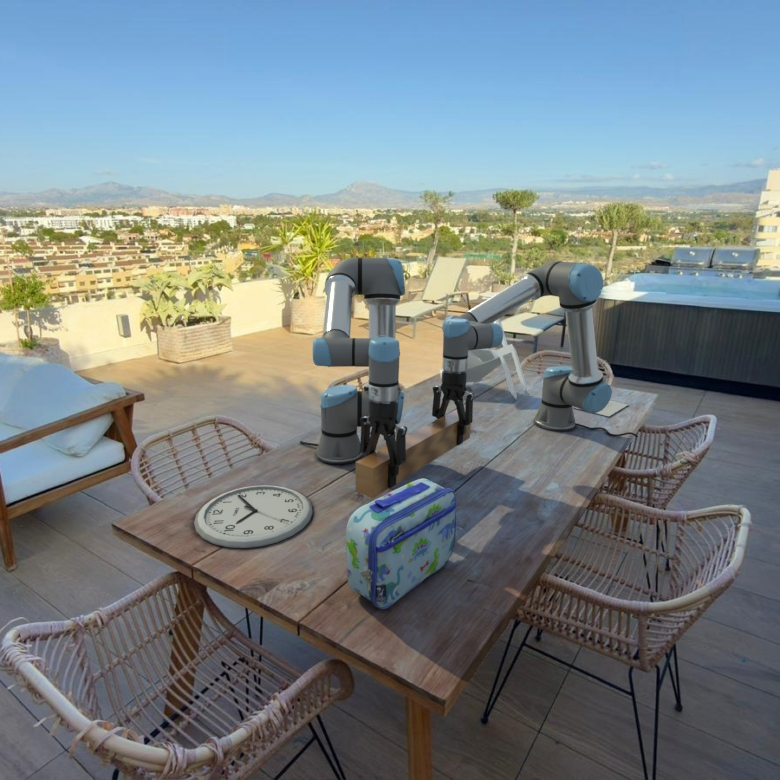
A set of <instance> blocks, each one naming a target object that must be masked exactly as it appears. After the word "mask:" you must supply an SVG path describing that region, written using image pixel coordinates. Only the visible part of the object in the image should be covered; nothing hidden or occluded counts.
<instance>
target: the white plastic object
mask: <svg viewBox="0 0 780 780" xmlns="http://www.w3.org/2000/svg"><path fill="white" fill-rule="evenodd" d="M495 323H496V324H498V325H499V326H500V327H501V328H502V331H503V341H502V343H501V345H502V347H500V348H498V349H496V350H495V349H493V348H490V349H489V348H487V349H477V350H468V361H467V370H466V372H467V379H466V384H467V383H468V384H469V383H473V384H477V383H480V382H482V381H484V378H485V377H486V376H487V375H489V374H490V373H492V372H494V371H495V370H496V369H497V368H499V367H500V366H502V370H503V373H504V376H505V380H506V383H507V386H508V390H509V393H510V394H511V395H512V397H513V398H514V399H515V400H517V392H516V391H517V390H516V388H515V385H514V381H513V378H512V375H511V371H510V369H509V365H508V361H510V360H513V363H514V366H515V369H516V372H517V376H518V380H519V382H520V385H521V389H522V391H523V393H524V395H525V396H526V397H528V396H531V395H530V390H529V388H528V387H529V386H528V384H527V381H526V378H525V375H524V371H523V369H522V368H523V367H522V366H521V362H520V359H519V355H518V352H517V349H516V347H515V346H514V345H513V343H511V344H508V341H507V337H506V334H505V331H504V328H503V325H502V321H501V318H499V319H498V320H496V321H495ZM442 371H443V369H442V368H441V369H440V370H439V371H438V372H439V376H440V381H442Z"/></svg>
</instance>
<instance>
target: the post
mask: <svg viewBox="0 0 780 780" xmlns="http://www.w3.org/2000/svg"><path fill="white" fill-rule="evenodd" d="M459 424H460V422H459V417H458V413H457V409H455V410H452V411H451V412H449V413H446V414H445V415H444V416H443V417H441V418H439V419H437V418H436V419H435V420H433V421H431V422H430V423H428V424H426V425H423V426H421V427H419V428H418V429H416V430H414V431H412V432H410V433H408V434H406V435H405V436H406V462H404V463H402V464H401V465H399V474H398V475H397V476H396V485H397V484H399V483H400V482H402V481H403V480H405V479H406V478H408V477H410V476H411V475H413V474H415V473H417V472H418V471H419V470H421V469H423V468H424V467H425V466H428V465H429V464H431V463H432V462H434V461H435V460H436V459H439V458H440V457H441V456H443V455H445V454H447V453H448V452H449V451H451V450H453V449H455V448H456V447H458V445H456V444H457V426H458V425H459ZM471 428H472V423H471V424H469V425H466V433H465V435H463V443H464V442H466V441H468V439H470V438H471V431H472V430H471ZM390 463H391V462H390V457H389V453H388V448H387V445H385V446H383V447H381V448H379V449H377V450H375V452H374V453H372V454H370V455H368V456H366V455H365V456H363V457H361V458H360V459H359V460H358V461H355V492H356V493H358V494H361V495H362V496H363V495H364V496H366V497H368V498H371V499H375V498H376V497H378V496H379V495H381V494H383V493H384V492H386V491H387V490H389V489H390V488H388V465H389V464H390Z"/></svg>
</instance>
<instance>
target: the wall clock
mask: <svg viewBox="0 0 780 780" xmlns="http://www.w3.org/2000/svg"><path fill="white" fill-rule="evenodd" d="M312 515H313V505H312V503H311V502H310V500H309V498H307V497H306V496H305V495H303V494H302V493H300V492H299V491H296V490H294V489H291V488H289V487H285V486H278V485H264V484H263V485H262V484H261V485H250V486H245V487H239V488H235V489H233V490H229V491H226V492H224V493H221V494H219V495H218V496H216V497H214V498H212V499H210V501H207V503H205V504H204V505H202V507H201V508H200V509H199V511H198V512H197V513H196V514H195V518H194V522H193V526H194V529H195V531H196V532H195V533H196V534H197V535H198V536H200V537H201V538H202V540H205V541H207V542H209V543H211V544H213V545H215V546H221V547H225V548H235V549H249V548H259V547H264V546H268V545H272V544H276V543H280V542H281V541H284V540H287V539H289V538H291V537H293V536H295V535H296V534H297V533H299V532H300V531H302V530H303V529H304V528H305V527H306V526H307V525H308V523H309V522H310V521H311V519H312Z"/></svg>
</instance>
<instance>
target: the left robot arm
mask: <svg viewBox="0 0 780 780" xmlns="http://www.w3.org/2000/svg"><path fill="white" fill-rule="evenodd" d="M405 285H406V283H405V274H404V268H403V264H402V262H401V260H400V259H398V258H393V257H358V256H355V257H349V258H346V259H343V260H341V261H340V262H338V263H337V264H336V265H335V266H334V267H333V268H332V269H330V270H329V272H328V274H327V276H326V278H325V282H324V293H325V295H326V301H325V309H324V317H323V318H324V319H323V326H322V335H321V337H315V338H314V339H313V341H312V361H313V364H314V365H315V366H318V367H328V368H332V367H333V368H335V367H337V368H339V367H343V368H344V367H347V368H348V367H350V368H351V367H355V368H360V367H361V368H362V367H363V368H368V379H367V382H365V383H364V385H363V390H358V388H357V387H356V386H355V385H350V384H341V385H340V384H339V385H334V386H331V387H329V388H327V389H325V390H324V391H322V393H321V395H320V405H319V407H320V417H321V418H320V419H321V421H320V422H321V423H320V424H321V425H320V427H321V429H320V430H321V434H320V438H319V442H318V443H313V442H306V441H302V440H300V441H299V443H300V444H302V445H306V446H313V447H317V448H316V451H315V452H316V458H317V460H319V461H320V462H322V463H325V464H327V465H328V464H329V465H339V466H341V465H349V464H353V463H356V461H358V460H360V459H362V458H363V454H364V455H365V457H366V456H368V455H370V454H372V453H374V452H376V449H377V446H378V443H379V439H380V436H383V440H384V441H385V444H386V446H387V448H388V453H389V457H390V462H391V463H390V464H389V465H388V488H389V489H391V488H393V487H395V486H397V484H396V476H397V475H398V474H399V465H401V464H402V463H404V462H406V435H407V432H408V427H407V426H405V425H404V426H402V425H400V423H401V420H402V416H403V409H404V402H405V401H404V400H405V392H404V391H402V390H400V387H401V386H400V384H399V383H400V381H399V379H400V378H399V375H400V356H401V350H400V341H399V340H398V339H397V338H396V317H397V316H396V307H397V305H398V304H399V303H400V302H401V297H403V296H405V295H406V289H405V288H406V287H405ZM355 295H358V296H363V301H364V302H365V304H367V306H368V337H351V327H352V326H351V325H352V309H353V308H352V307H353V306H352V305H353V298H354V297H355ZM358 428H360V438H359V434H358Z"/></svg>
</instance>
